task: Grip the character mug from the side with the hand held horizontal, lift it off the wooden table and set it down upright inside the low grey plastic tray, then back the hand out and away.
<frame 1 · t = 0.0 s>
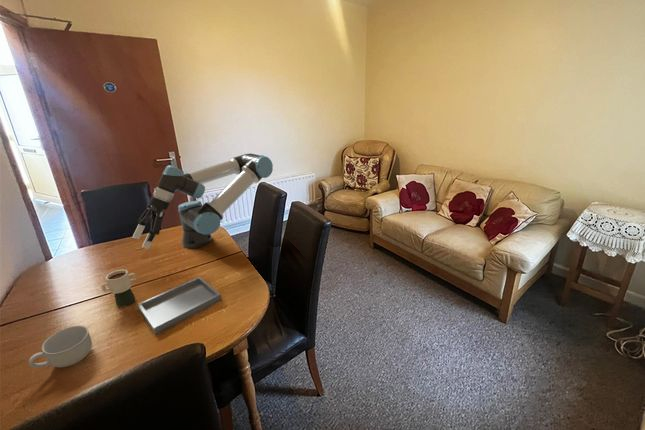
hand: (140, 243, 126), 15 cm above the table, tool tilted 35°, fingers open, 13 cm apart
teacup: (68, 361, 87), on the table
tray: (181, 305, 110), on the table
character mug: (126, 303, 112), on the table
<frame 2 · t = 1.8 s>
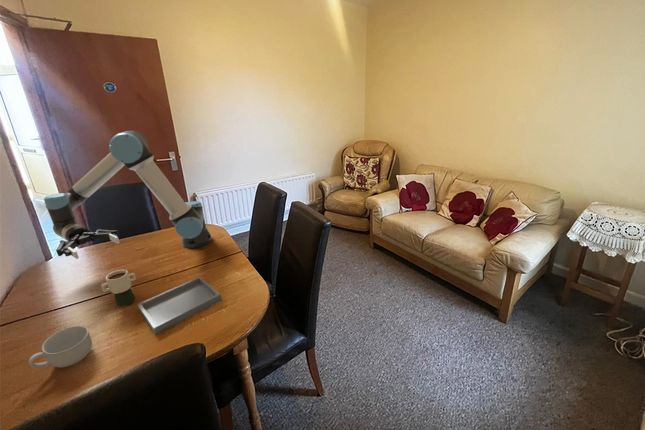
hand: (98, 247, 109), 22 cm above the table, tool horizontal, fingers open, 13 cm apart
nothing on the table moved.
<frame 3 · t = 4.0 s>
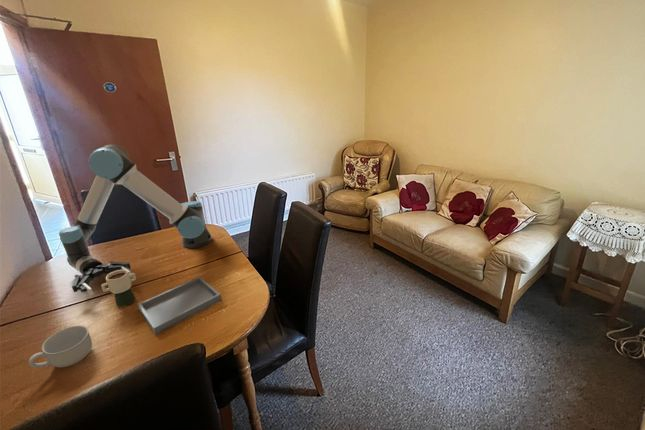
hand: (111, 282, 112), 7 cm above the table, tool horizontal, fingers open, 13 cm apart
nothing on the table moved.
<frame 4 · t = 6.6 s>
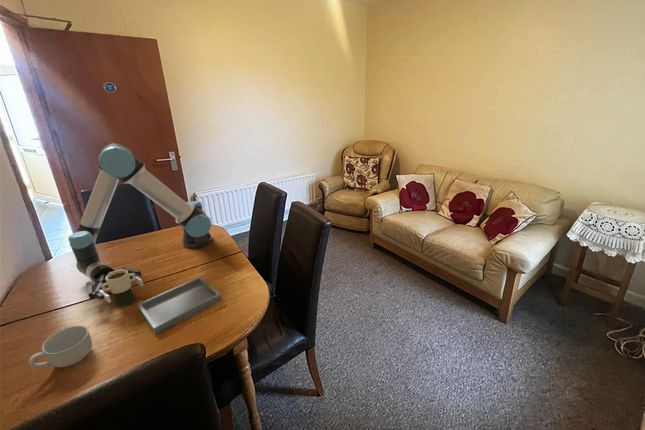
hand: (126, 290, 107), 7 cm above the table, tool horizontal, fingers closed on character mug, 11 cm apart
character mug: (126, 303, 112), on the table, touching gripper
everything else where it was.
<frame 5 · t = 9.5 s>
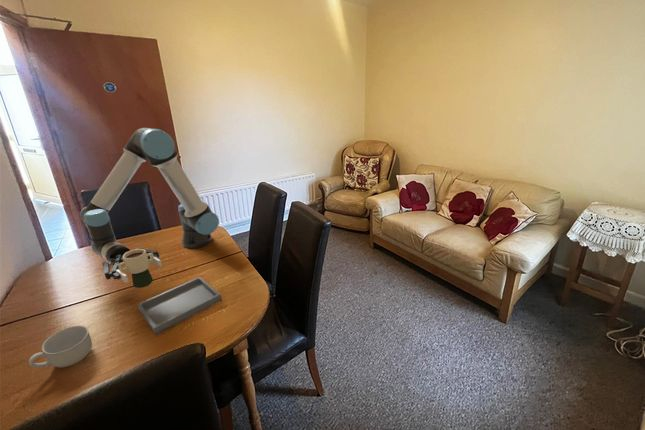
hand: (144, 271, 100), 18 cm above the table, tool horizontal, fingers closed on character mug, 11 cm apart
character mug: (143, 284, 105), point 10 cm above the table, touching gripper
everything else where it was.
when the fingers open (10 cm above the table, at t = 12.5 s): character mug drops 1 cm, resting on tray.
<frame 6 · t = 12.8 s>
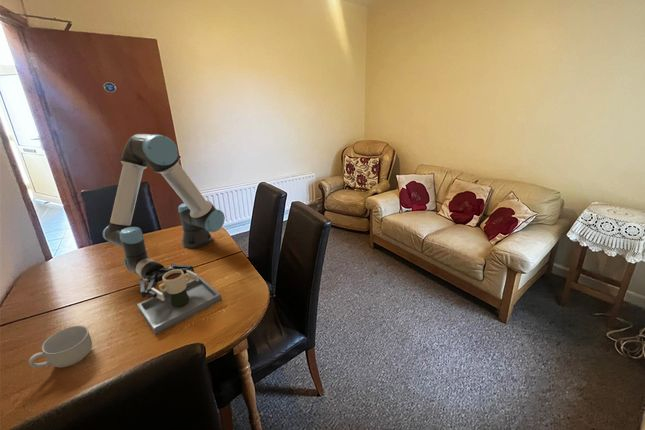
hand: (181, 287, 104), 10 cm above the table, tool horizontal, fingers open, 13 cm apart
character mug: (181, 303, 110), point 1 cm above the table, touching tray
everything else where it was.
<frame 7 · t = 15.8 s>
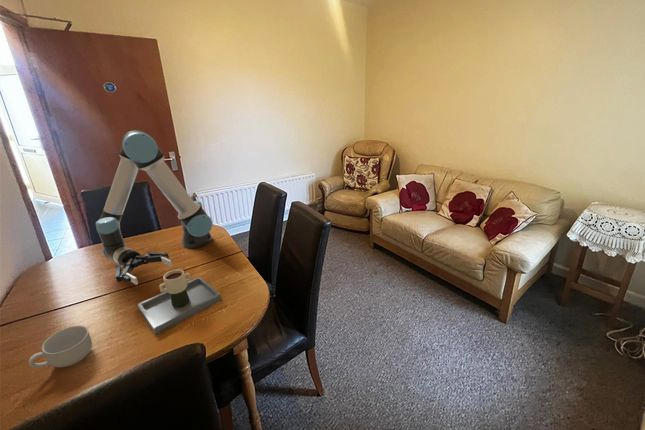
hand: (154, 272, 111), 12 cm above the table, tool horizontal, fingers open, 13 cm apart
nothing on the table moved.
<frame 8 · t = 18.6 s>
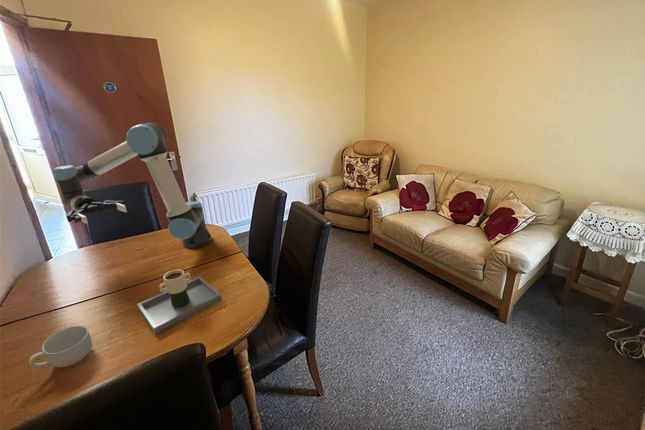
hand: (106, 214, 113), 32 cm above the table, tool horizontal, fingers open, 13 cm apart
nothing on the table moved.
at the end: character mug inside the target area on the tray (0.1 cm from its centre), point 0.8 cm above the tray's base; character mug tilted 0°; the gripper is holding nothing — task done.
